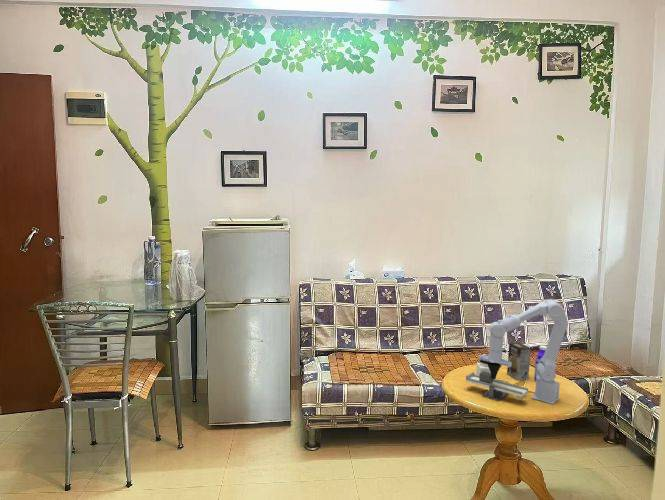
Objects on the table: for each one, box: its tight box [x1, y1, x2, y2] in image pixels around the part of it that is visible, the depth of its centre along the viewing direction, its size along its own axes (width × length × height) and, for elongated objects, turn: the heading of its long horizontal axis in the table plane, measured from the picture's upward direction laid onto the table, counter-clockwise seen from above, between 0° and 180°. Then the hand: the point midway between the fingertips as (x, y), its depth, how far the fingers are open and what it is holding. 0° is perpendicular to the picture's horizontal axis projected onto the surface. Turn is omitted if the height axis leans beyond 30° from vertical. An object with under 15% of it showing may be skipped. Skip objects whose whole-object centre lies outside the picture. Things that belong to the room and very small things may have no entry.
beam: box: [465, 371, 529, 401], centre depth 237 cm, size 26×7×5 cm, turn 49°
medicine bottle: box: [475, 353, 496, 380], centre depth 256 cm, size 7×7×12 cm
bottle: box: [533, 345, 547, 381], centre depth 254 cm, size 7×6×17 cm
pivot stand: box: [481, 380, 510, 402], centre depth 237 cm, size 8×10×6 cm
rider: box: [479, 371, 493, 384], centre depth 239 cm, size 5×4×4 cm
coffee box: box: [506, 341, 532, 381], centre depth 260 cm, size 9×6×16 cm
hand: (493, 378), depth 237 cm, fingers closed
